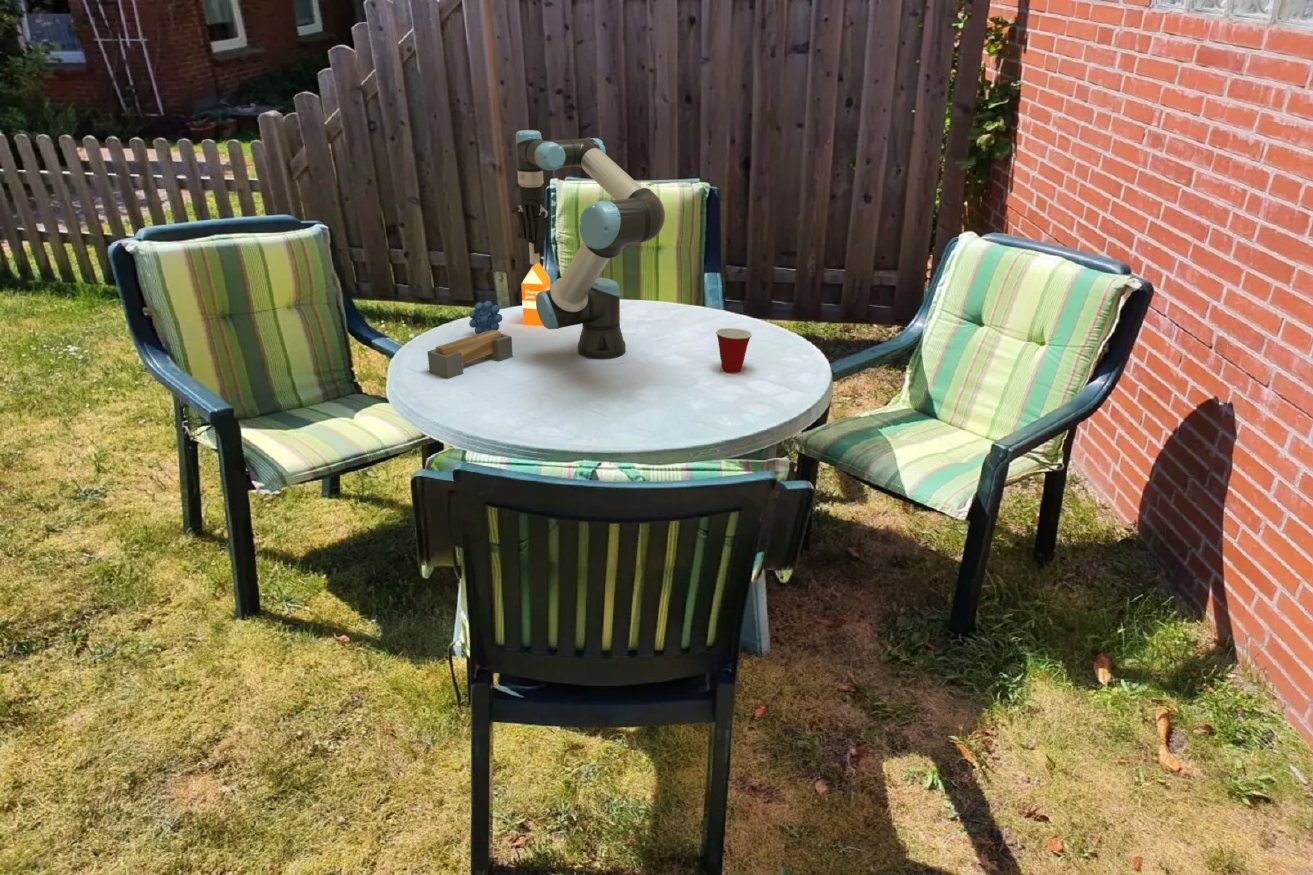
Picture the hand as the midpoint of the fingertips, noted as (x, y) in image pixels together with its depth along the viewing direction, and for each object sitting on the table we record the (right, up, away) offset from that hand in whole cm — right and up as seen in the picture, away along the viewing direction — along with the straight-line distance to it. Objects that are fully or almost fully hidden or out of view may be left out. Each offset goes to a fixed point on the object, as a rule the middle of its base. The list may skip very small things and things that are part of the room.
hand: (534, 263), depth 278 cm
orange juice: (-3, -14, +33) cm, 36 cm away
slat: (-18, -30, -7) cm, 36 cm away
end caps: (-18, -32, -6) cm, 37 cm away
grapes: (-18, -20, +20) cm, 34 cm away
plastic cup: (+60, -34, -9) cm, 70 cm away
